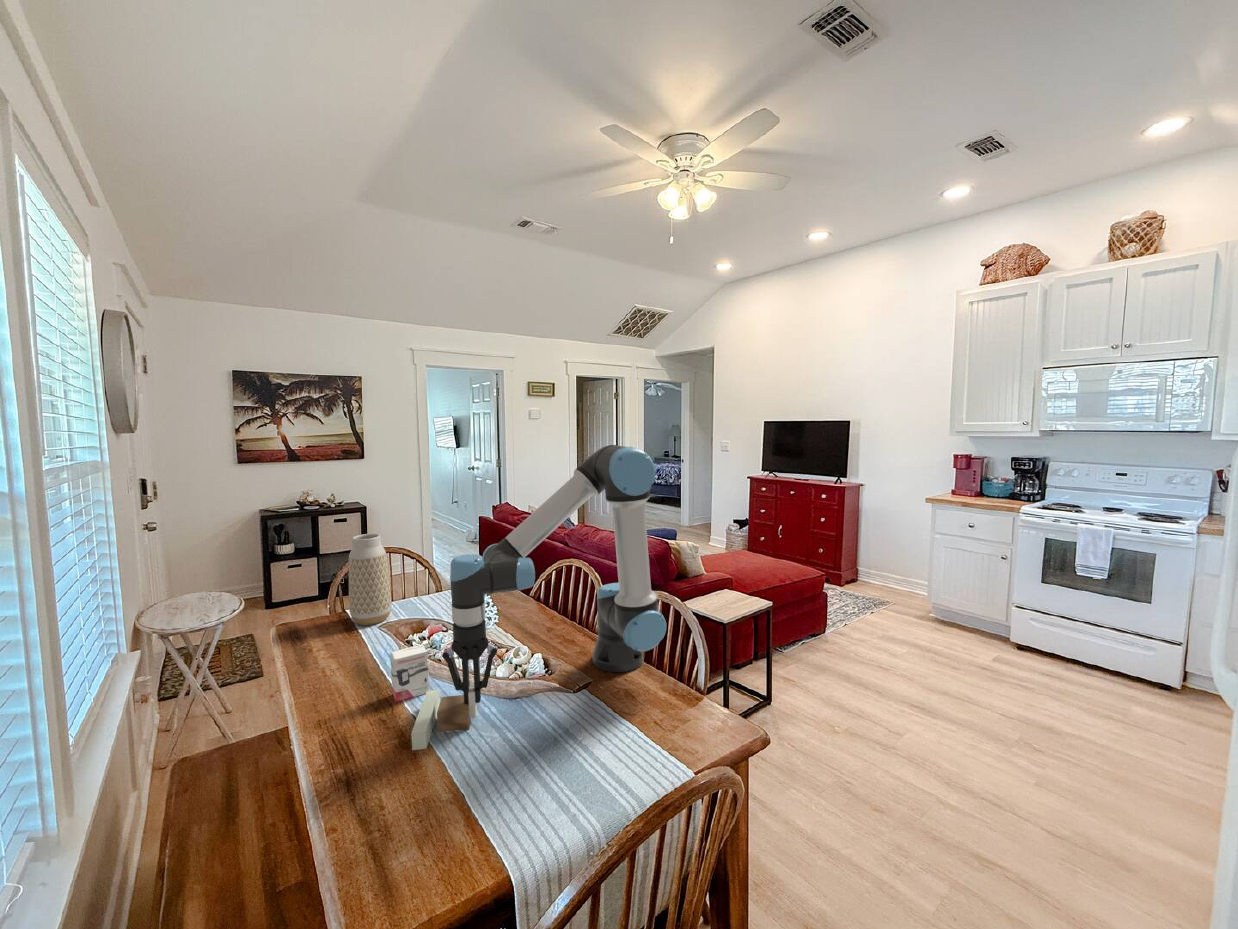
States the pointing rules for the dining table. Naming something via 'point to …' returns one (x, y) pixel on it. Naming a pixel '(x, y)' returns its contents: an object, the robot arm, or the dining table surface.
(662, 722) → the dining table surface
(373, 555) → the vase
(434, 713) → the board
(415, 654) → the ink box
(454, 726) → the push block
